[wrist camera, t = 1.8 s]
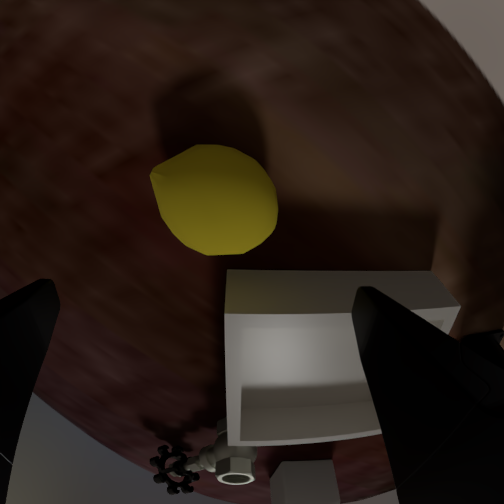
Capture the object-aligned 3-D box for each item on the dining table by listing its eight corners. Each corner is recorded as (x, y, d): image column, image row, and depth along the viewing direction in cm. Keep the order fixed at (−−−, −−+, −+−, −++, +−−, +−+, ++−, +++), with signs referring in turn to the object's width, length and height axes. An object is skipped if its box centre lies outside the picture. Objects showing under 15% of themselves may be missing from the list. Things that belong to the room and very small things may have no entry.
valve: (227, 403, 28) (153, 436, 31) (226, 463, 22) (145, 485, 25) (271, 427, 30) (196, 457, 33) (276, 481, 24) (193, 502, 28)
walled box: (431, 270, 21) (461, 306, 17) (378, 396, 28) (390, 431, 24) (227, 269, 21) (224, 313, 17) (228, 405, 28) (227, 445, 24)
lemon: (289, 171, 18) (320, 208, 14) (241, 242, 20) (255, 297, 16) (181, 112, 16) (173, 129, 11) (139, 195, 18) (119, 242, 13)
